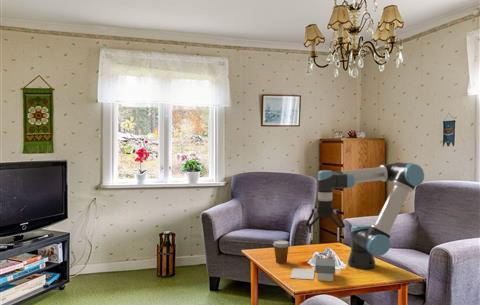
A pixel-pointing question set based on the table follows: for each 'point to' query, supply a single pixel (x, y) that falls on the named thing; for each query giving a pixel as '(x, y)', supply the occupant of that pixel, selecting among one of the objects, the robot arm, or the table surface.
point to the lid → (325, 265)
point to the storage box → (325, 276)
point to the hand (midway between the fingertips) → (325, 239)
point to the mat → (302, 273)
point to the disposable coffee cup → (281, 251)
